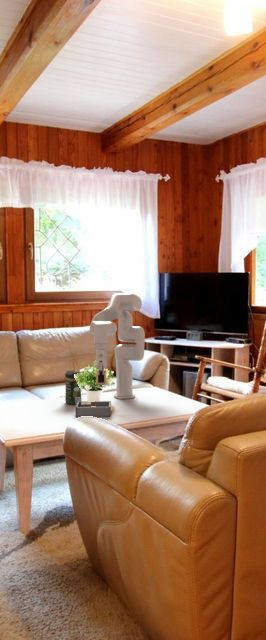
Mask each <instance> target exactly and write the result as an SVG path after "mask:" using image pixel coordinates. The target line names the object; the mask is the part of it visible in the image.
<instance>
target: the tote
mask: <svg viewBox="0 0 266 640" xmlns="http://www.w3.org/2000/svg"><path fill="white" fill-rule="evenodd" d="M88 401H89V400H88ZM88 401H87V400H86V401H85V400H84V401H83V400H81V401H78V403H77V405H75V417H76V418H81V417H80V416H95V417H94V418H110V417H111V415H112V401H110V400H103V401H102V400H100V401H99V400H97V401H95V400H94V401H95V402H91V406H96V407H81V403H82V402H88Z"/></svg>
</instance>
